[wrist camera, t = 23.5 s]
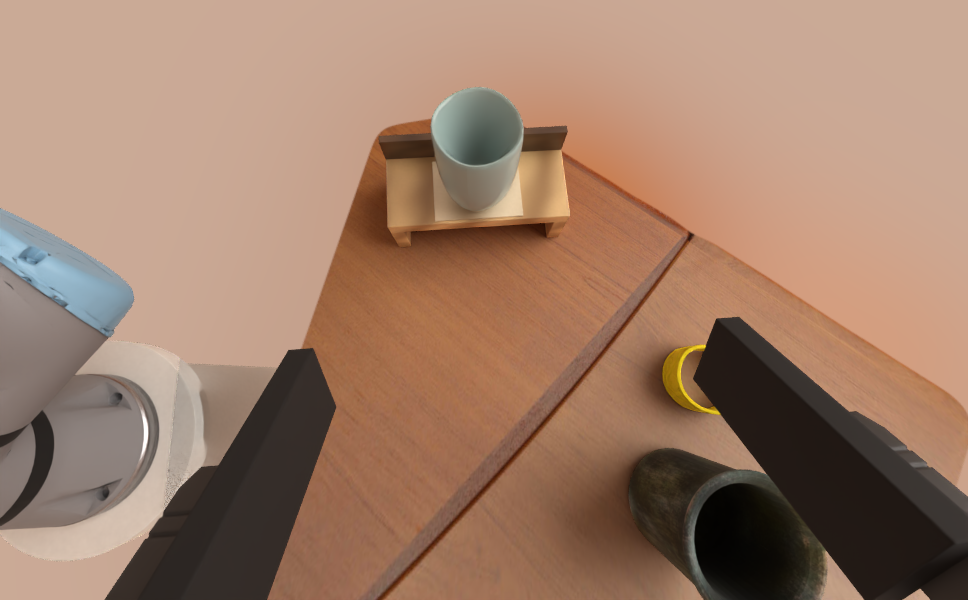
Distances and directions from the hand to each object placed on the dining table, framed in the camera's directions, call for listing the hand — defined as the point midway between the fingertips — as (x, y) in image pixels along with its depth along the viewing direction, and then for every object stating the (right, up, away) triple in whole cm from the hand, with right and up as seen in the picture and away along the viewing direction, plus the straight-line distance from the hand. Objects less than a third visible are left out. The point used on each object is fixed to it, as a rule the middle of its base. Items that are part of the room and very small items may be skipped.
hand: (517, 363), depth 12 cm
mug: (+20, -21, +26) cm, 39 cm away
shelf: (-2, +14, +33) cm, 36 cm away
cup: (-2, +14, +27) cm, 31 cm away
